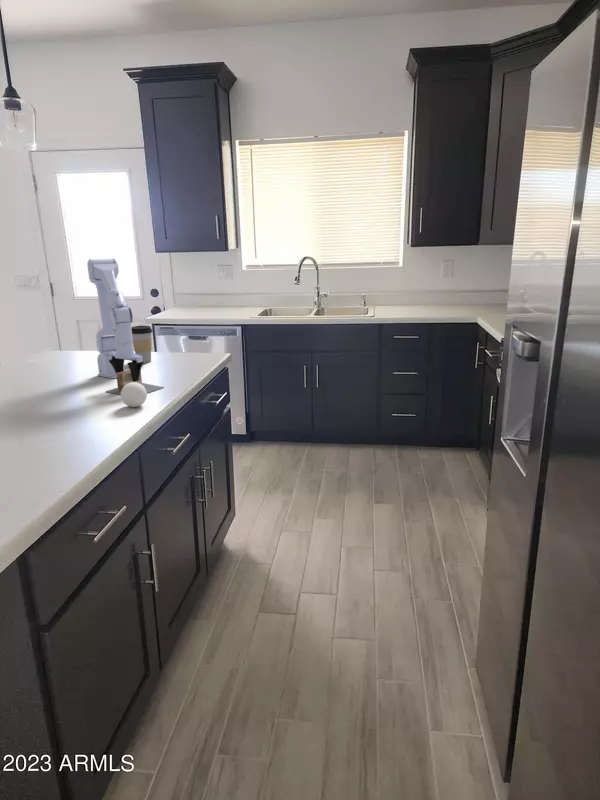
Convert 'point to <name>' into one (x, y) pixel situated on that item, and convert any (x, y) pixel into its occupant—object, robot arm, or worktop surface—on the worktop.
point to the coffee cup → (142, 342)
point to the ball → (133, 394)
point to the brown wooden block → (126, 379)
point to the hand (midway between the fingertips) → (128, 379)
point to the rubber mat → (148, 387)
